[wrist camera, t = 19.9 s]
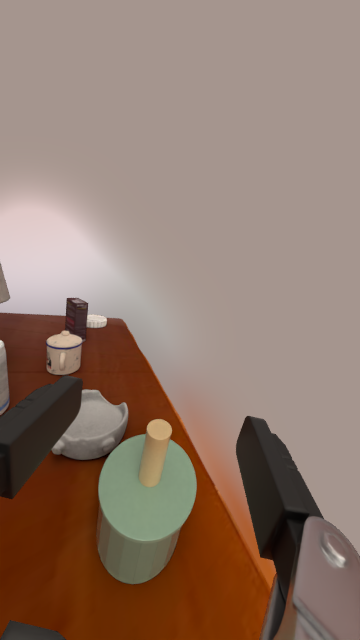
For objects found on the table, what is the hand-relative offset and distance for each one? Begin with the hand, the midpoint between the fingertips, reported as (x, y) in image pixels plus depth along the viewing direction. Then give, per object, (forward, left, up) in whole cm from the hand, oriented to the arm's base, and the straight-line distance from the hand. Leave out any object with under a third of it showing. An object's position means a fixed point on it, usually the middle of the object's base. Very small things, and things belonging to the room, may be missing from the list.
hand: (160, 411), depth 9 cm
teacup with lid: (-50, +13, -29) cm, 59 cm away
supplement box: (-71, +24, -29) cm, 80 cm away
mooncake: (-85, +38, -29) cm, 97 cm away
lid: (-7, +9, -20) cm, 23 cm away
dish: (-25, +10, -29) cm, 39 cm away
